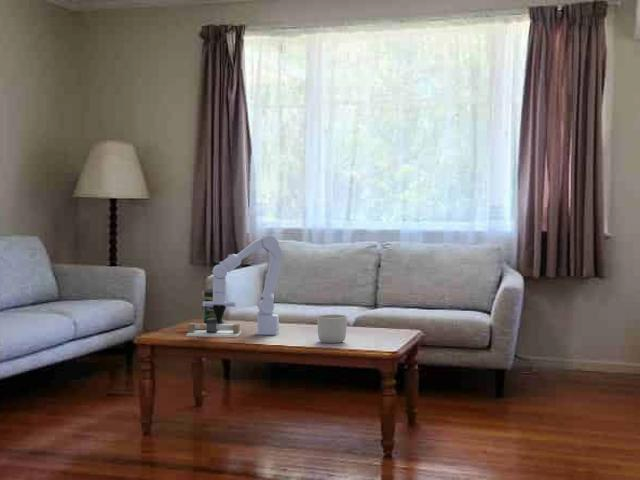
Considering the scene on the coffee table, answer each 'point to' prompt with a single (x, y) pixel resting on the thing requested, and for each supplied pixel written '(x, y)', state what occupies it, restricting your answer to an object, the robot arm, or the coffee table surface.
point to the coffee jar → (210, 307)
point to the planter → (332, 328)
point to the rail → (203, 333)
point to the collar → (211, 325)
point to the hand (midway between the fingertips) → (219, 322)
